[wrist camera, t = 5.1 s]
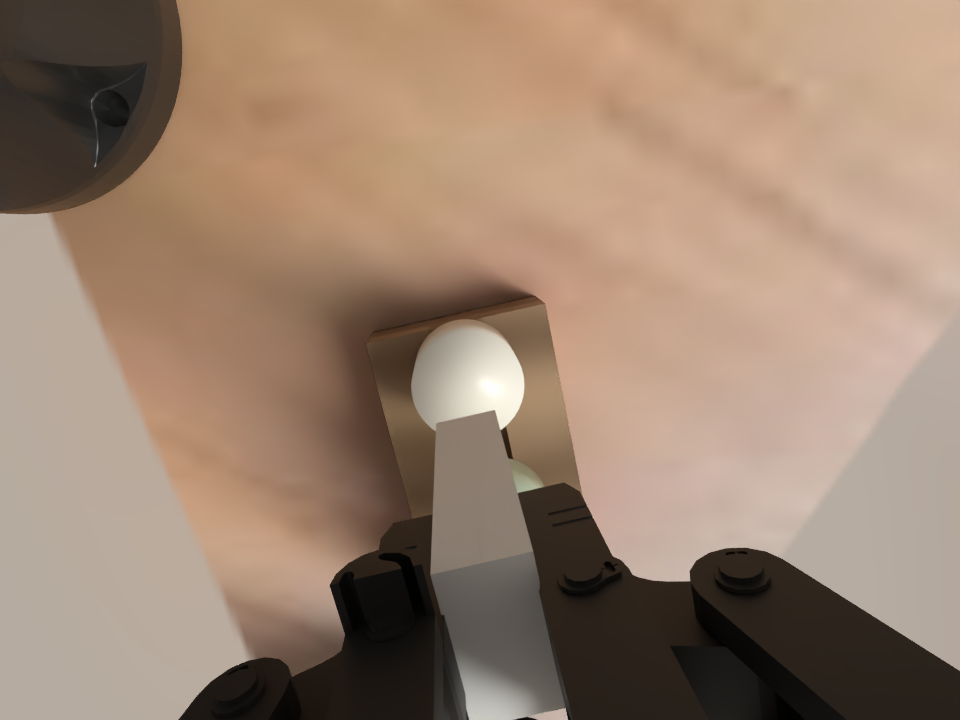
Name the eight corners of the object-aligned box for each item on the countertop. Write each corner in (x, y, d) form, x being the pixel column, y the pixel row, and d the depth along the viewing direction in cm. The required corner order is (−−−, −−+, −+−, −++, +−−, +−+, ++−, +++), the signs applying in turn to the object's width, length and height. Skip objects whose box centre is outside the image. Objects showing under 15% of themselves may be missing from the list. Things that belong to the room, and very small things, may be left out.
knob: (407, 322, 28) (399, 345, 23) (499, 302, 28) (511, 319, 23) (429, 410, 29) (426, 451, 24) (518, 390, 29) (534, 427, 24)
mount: (373, 332, 29) (365, 344, 26) (535, 295, 29) (545, 303, 26) (444, 599, 32) (443, 636, 29) (588, 566, 32) (602, 600, 29)
